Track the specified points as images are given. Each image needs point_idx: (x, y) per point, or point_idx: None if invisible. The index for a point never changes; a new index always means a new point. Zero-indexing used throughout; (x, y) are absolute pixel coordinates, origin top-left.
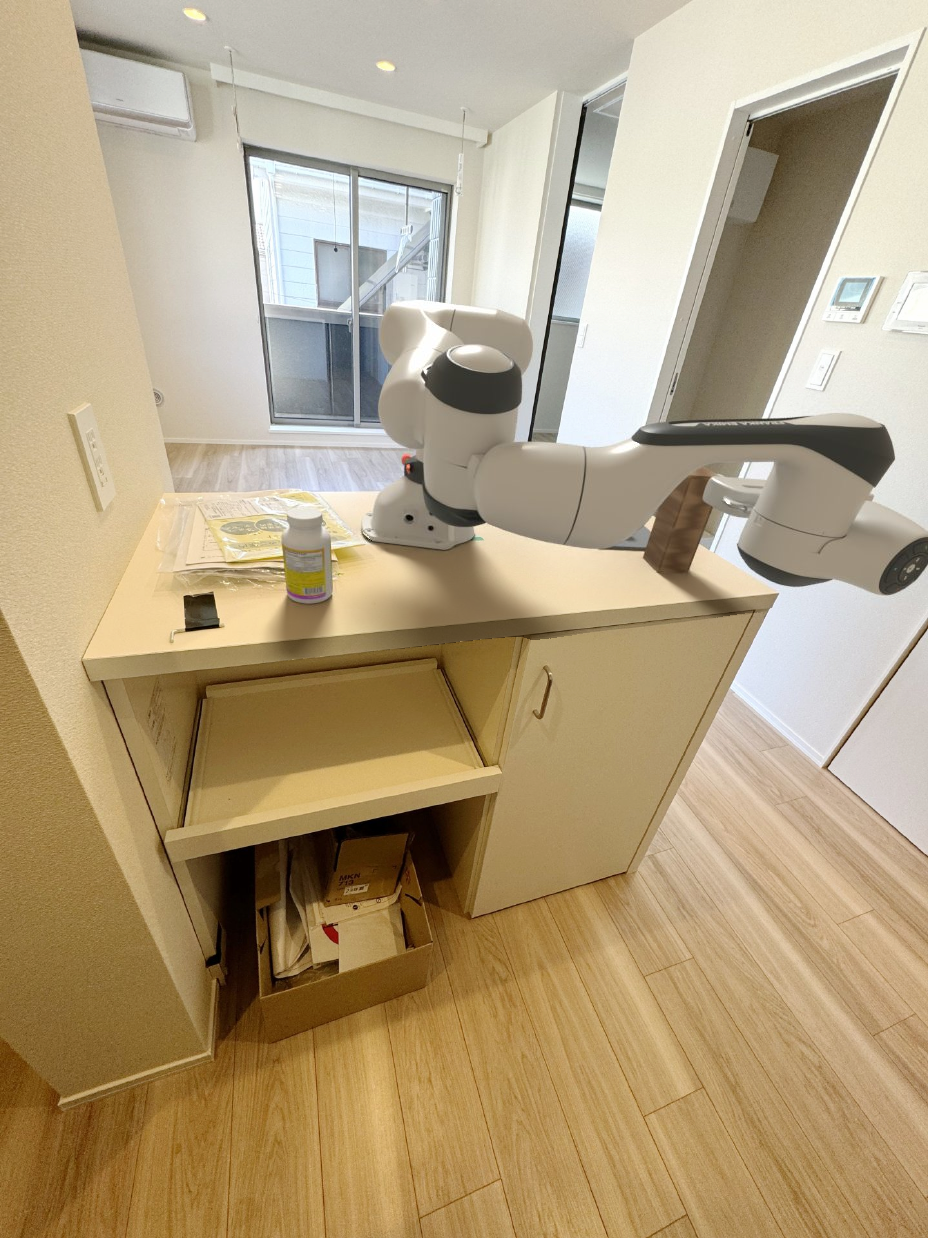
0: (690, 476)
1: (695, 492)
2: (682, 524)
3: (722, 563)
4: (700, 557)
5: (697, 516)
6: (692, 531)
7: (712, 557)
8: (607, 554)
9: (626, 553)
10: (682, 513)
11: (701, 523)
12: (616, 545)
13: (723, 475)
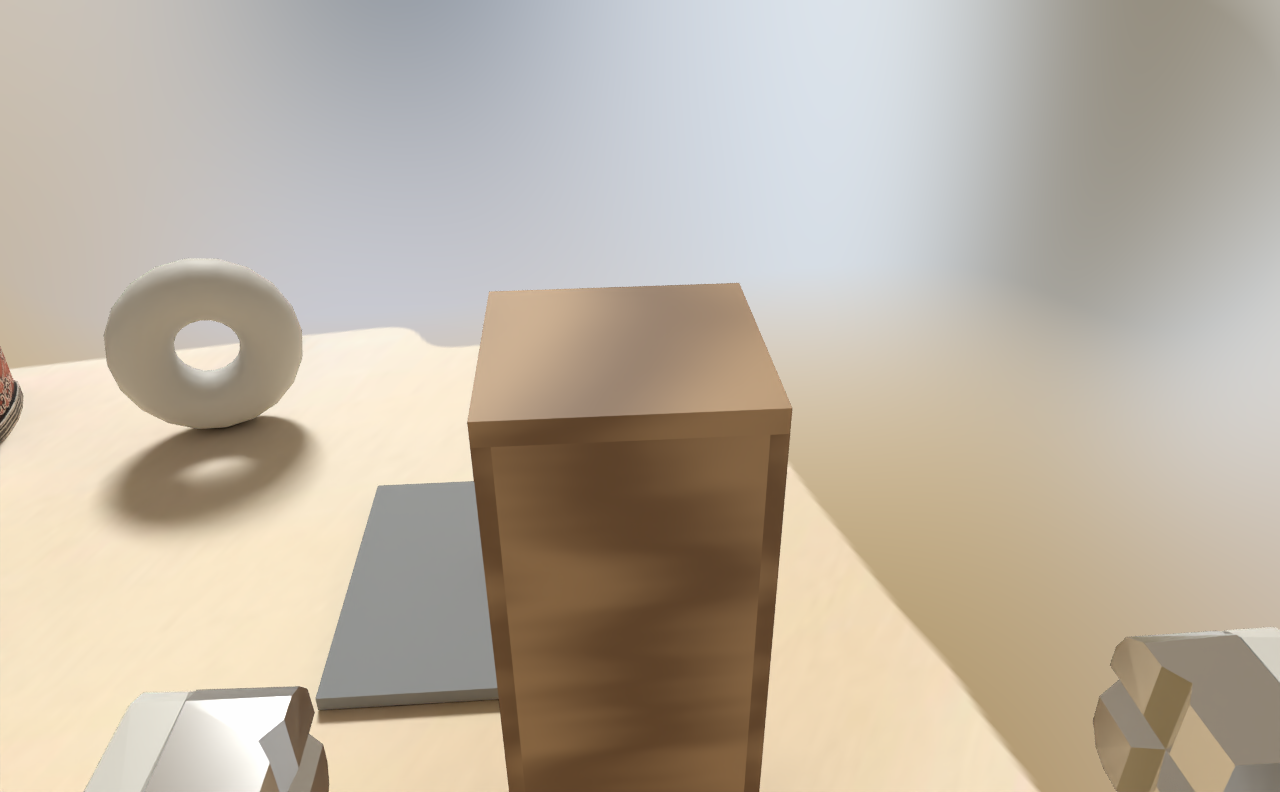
0: (470, 433)
1: (578, 536)
2: (572, 733)
3: (1021, 775)
4: (900, 725)
5: (671, 676)
6: (674, 759)
7: (974, 714)
8: (332, 773)
9: (460, 744)
10: (539, 672)
11: (724, 710)
12: (427, 686)
13: (187, 748)
